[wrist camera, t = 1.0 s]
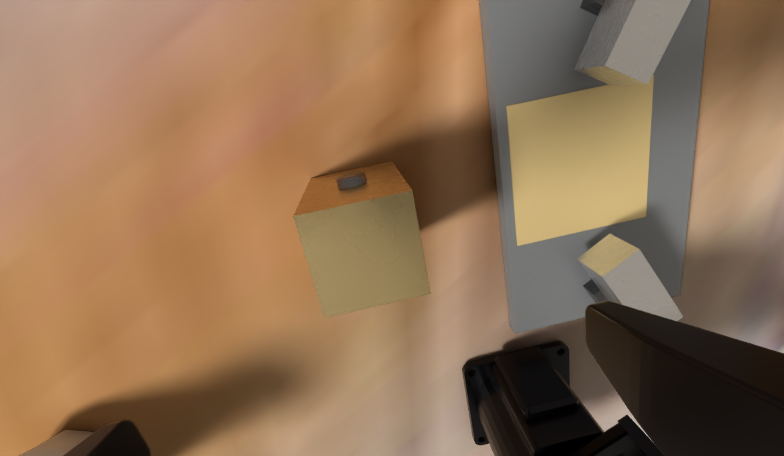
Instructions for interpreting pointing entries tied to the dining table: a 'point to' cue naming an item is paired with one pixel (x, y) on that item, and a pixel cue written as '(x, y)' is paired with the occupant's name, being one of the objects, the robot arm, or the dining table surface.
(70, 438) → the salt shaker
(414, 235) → the block
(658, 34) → the wood-capped gray bar
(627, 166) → the board
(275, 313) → the dining table surface
